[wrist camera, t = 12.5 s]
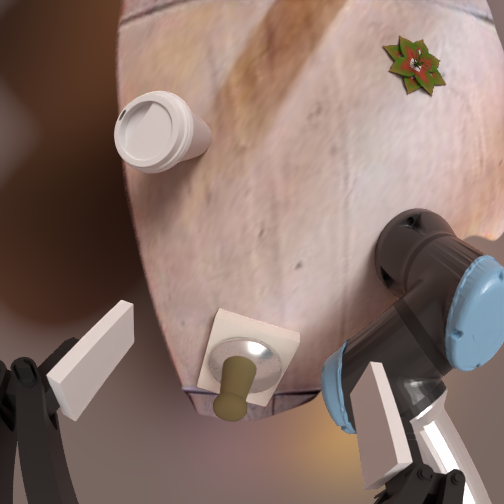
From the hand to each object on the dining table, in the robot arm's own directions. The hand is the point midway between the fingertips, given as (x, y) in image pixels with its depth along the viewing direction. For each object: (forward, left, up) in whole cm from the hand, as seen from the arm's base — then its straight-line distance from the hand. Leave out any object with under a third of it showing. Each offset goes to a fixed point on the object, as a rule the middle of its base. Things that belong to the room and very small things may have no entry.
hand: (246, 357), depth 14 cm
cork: (-2, +25, -25) cm, 35 cm away
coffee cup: (+16, -9, -30) cm, 36 cm away
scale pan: (-3, +25, -26) cm, 36 cm away
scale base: (-3, +27, -30) cm, 40 cm away
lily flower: (-14, -33, -31) cm, 48 cm away
